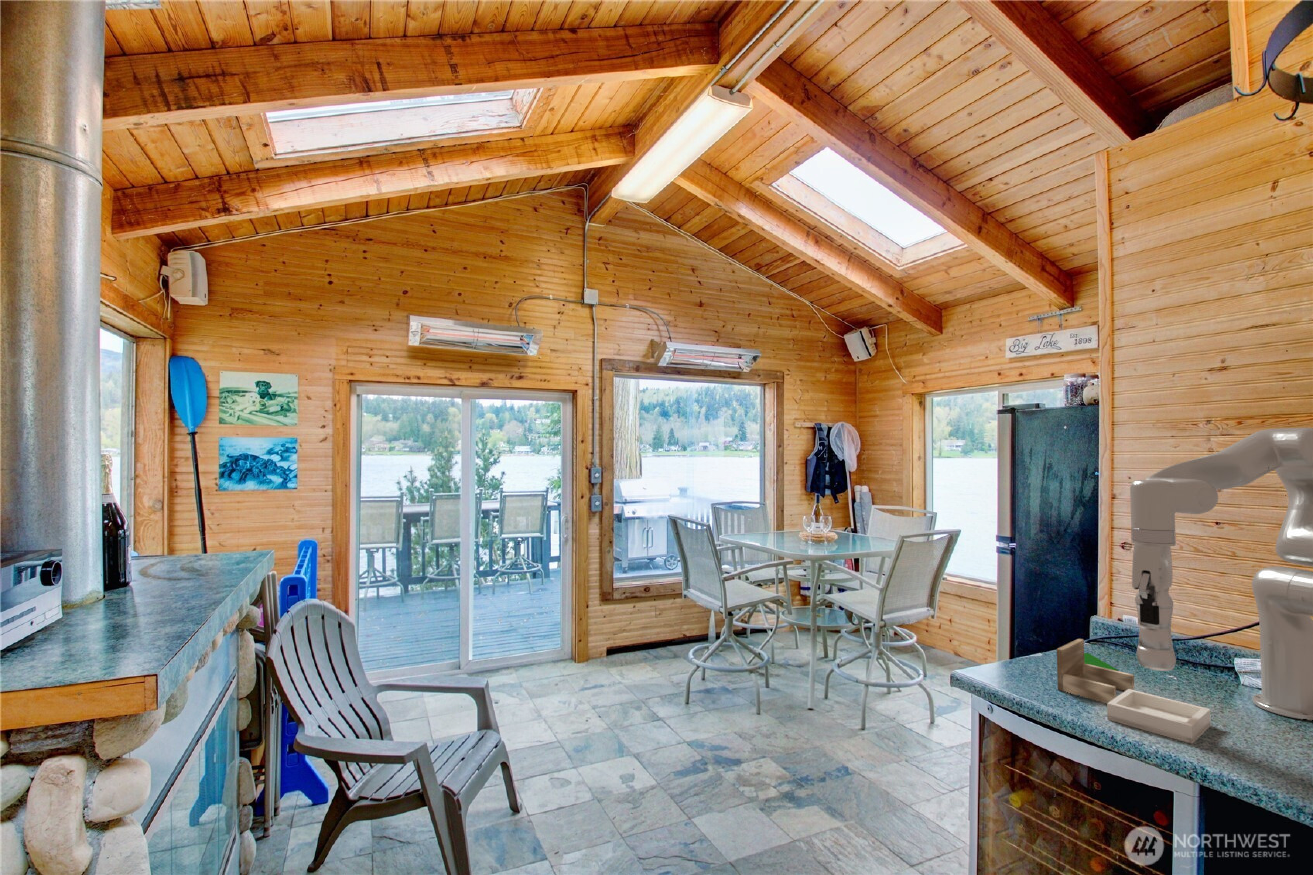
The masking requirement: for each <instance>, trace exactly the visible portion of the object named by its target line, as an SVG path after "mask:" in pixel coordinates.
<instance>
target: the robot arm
mask: <svg viewBox="0 0 1313 875" xmlns="http://www.w3.org/2000/svg"><path fill="white" fill-rule="evenodd" d="M1273 471H1275V474H1277V476H1278V478H1279V479H1280V481H1281V482H1282V484H1283V486H1284V488H1285V490H1286V492H1287V495H1288V496H1287V497H1288V505H1287V508H1286V512H1285V515H1284V518H1283V521H1282V524H1281V525H1280V529H1279V532H1278V535H1277V538H1276V542H1275V552H1276V555H1277V557H1278V558H1280V559H1281V560H1283V561H1285V562H1287V563H1289V564H1293V565H1296V566H1297V565H1299V566H1304V567H1310V568H1313V427H1289V428H1286V427H1284V428H1282V427H1281V428H1279V427H1278V428H1267V429H1263V430H1262V429H1261V430H1258V431H1256V432H1253V433H1252V434H1250V435H1248V436H1245V437H1244V438H1241V439H1240V440H1238V441H1237V442H1235V443H1233V444H1231V445H1229V446H1228V447H1225V448H1223V449H1222V450H1220V451H1218V452H1215V453H1212V454H1208V455H1204V456H1200V457H1197V458H1193V459H1191V460H1186V461H1183V462H1179V463H1176V464H1173V465H1170V466H1167V467H1165V468H1162V469H1160V470H1159V471H1156V472H1155V473H1153V474H1151V475H1149V476H1148V477H1147V478H1145V479H1138V480H1134V481H1131V484H1130V487H1129V488H1130V489H1129V493H1130V494H1129V495H1130V496H1129V497H1130V500H1129V501H1130V536H1131V543H1132V544H1134V545H1133V552H1132V554H1133V555H1132V565H1131V566H1132V570H1131V572H1132V573H1131V587H1132V589H1134V590H1138V592H1139V593H1140V595H1139V596H1140V601H1139V602H1140V621H1141V622H1143V623H1148V624H1154V625H1158V624H1159V606H1157V599H1158V592H1161V591H1163V590H1166V592H1167V593H1168V594H1169V595H1170V593H1169V592H1170V591H1169V590H1170V588H1172V585H1173V579H1174V578H1173V576H1174V574H1173V560H1172V557H1173V556H1172V548H1171V547H1175V546H1176V545H1177V543H1176V542H1177V540H1176V513H1178V514H1188V515H1190V514H1191V515H1200V514H1204V513H1205V514H1206V513H1207V512H1210V511H1212V509H1215V507H1216V505H1217V504H1218V502H1219V493H1218V491H1219V490H1227V489H1233V488H1239V487H1243V486H1246V485H1247V486H1248V485H1249V484H1251V483H1253V482H1255V481H1256V480H1258V479H1259V478H1262V477H1263V476H1265V475H1267V474H1270V473H1271V472H1273ZM1217 490H1218V491H1217ZM1148 588H1155V589H1154V590H1149V589H1148ZM1251 588H1252V593H1253V597H1254V600H1255V603H1256V606H1257V612H1258V620H1259V621H1258V622H1259V644H1260V645H1259V647H1260V648H1259V649H1260V652H1259V653H1260V676H1261V678H1260V679H1261V683H1260V684H1261V693H1258V694H1255V695H1253V696H1252V702H1253V704H1254V705H1255V706H1256V707H1258V708H1260V709H1262V710H1265V711H1266V712H1267V711H1268V712H1271V713H1272V714H1273V713H1274V714H1276V715H1280V716H1284V717H1287V718H1293V719H1298V720H1303V719H1307V720H1306V721H1312V720H1313V618H1312V617H1313V571H1310V570H1307V569H1305V570H1304V569H1299V568H1292V567H1286V566H1268V567H1265V568H1261V569H1259V570H1258V571H1257V572H1256V573H1255V574H1254V575H1253V578H1252V581H1251ZM1149 593H1150V594H1149ZM1151 594H1153V598H1152V595H1151Z"/></svg>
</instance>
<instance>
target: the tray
mask: <svg viewBox="0 0 1313 875" xmlns="http://www.w3.org/2000/svg"><path fill="white" fill-rule="evenodd" d="M1106 708H1107V710H1106V713H1107V714H1106V716H1107V719H1106V720H1108V721H1112V722H1115V723H1118V724H1123V725H1125V726H1127V727H1128V726H1129V727H1133V728H1136V729H1139V730H1143V731H1146V732H1150V733H1153V734H1157V735H1161V736H1163V737H1167V738H1170V739H1175V740H1176V741H1177V740H1178V741H1182V742H1184V743H1188V744H1192V745H1193V744H1194V743H1195V742H1197V741H1198V739H1199V738H1200V737H1201V736H1202V735H1203V734H1204V733H1205V732H1206V731H1207V730H1209V728H1210V727H1211V725H1212V722H1211V721H1212V720H1211V708H1208V707H1204V706H1200V705H1195V704H1192V703H1187V702H1184V701H1180V700H1175V699H1171V698H1167V697H1163V696H1159V695H1155V694H1150V693H1147V692H1142V691H1139V690H1135V689H1134V690H1131V689H1128V690H1126V691H1124V692H1122V693H1120V694H1119V695H1116V698H1114V699H1113V700H1111V701H1110V702H1108V703H1106Z"/></svg>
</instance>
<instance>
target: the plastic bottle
mask: <svg viewBox="0 0 1313 875" xmlns="http://www.w3.org/2000/svg"><path fill="white" fill-rule="evenodd" d="M1148 589H1149V590H1154V589H1155V588H1148ZM1149 594H1150V593H1149ZM1139 595H1140V593H1139V591H1138V592H1137V593H1136V595H1135V598H1134V604H1135V607H1136V612H1137V618H1138V624H1139V625H1138V628H1139V629H1138V630H1139V632H1138V644H1137V649H1136V659H1137V662H1138V664H1140V666H1141V667H1143V668H1144V669H1145V668H1146V669H1149V670H1152V671H1156V672H1157V671H1158V672H1160V671H1161V672H1170V671H1173V670H1174V669H1175V667H1176V663H1177V658H1176V654H1175V650H1174V645H1173V639H1172V619H1173V618H1172V617H1173V610H1174V600H1173V598H1172V596H1171V595H1170V593H1169V594H1168V593H1167V592H1166V590H1163V591H1161V592H1158V599H1157V606H1159V624H1158V625H1154V624H1148V623H1143V622H1141V621H1140V602H1139V601H1140V596H1139ZM1151 595H1152V598H1153V594H1151Z"/></svg>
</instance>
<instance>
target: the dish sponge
mask: <svg viewBox="0 0 1313 875" xmlns="http://www.w3.org/2000/svg"><path fill="white" fill-rule="evenodd" d="M1084 663H1085V664H1089V665H1094V666H1098V667H1102V668H1107V669H1111V670H1115V671H1119V669H1118V668H1116V667H1114V666H1113V665H1111V664H1109V663H1107V662H1105V661H1103V660H1102V659H1100V658H1098V657H1097V656H1094V655H1093V654H1092V653H1088V652H1084Z"/></svg>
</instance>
